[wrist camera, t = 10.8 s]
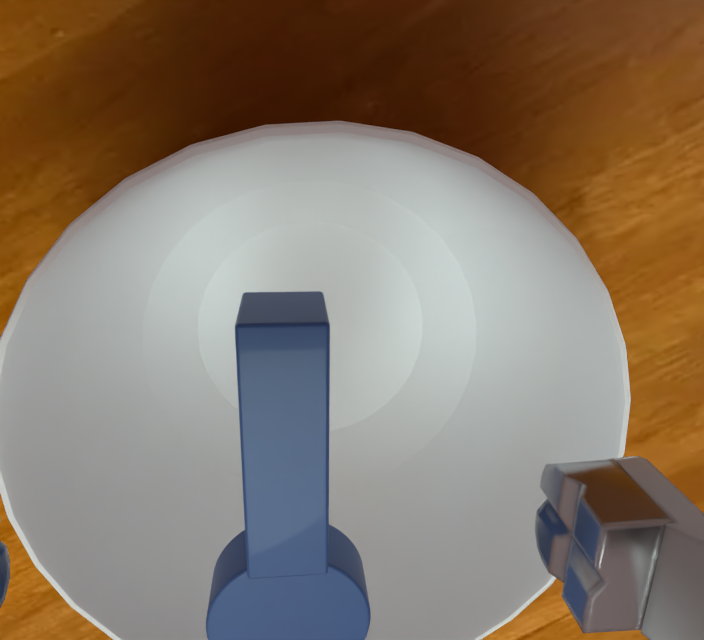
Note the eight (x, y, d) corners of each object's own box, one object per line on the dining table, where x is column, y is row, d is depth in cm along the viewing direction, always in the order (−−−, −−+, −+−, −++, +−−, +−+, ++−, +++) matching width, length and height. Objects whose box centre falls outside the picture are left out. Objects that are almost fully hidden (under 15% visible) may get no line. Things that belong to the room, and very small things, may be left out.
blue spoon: (191, 291, 13) (173, 325, 11) (371, 289, 13) (387, 322, 11) (217, 639, 16) (207, 716, 14) (361, 629, 17) (372, 701, 15)
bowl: (14, 323, 22) (-167, 465, 13) (319, 14, 20) (348, -66, 11) (305, 554, 27) (315, 770, 18) (577, 328, 25) (741, 450, 16)
